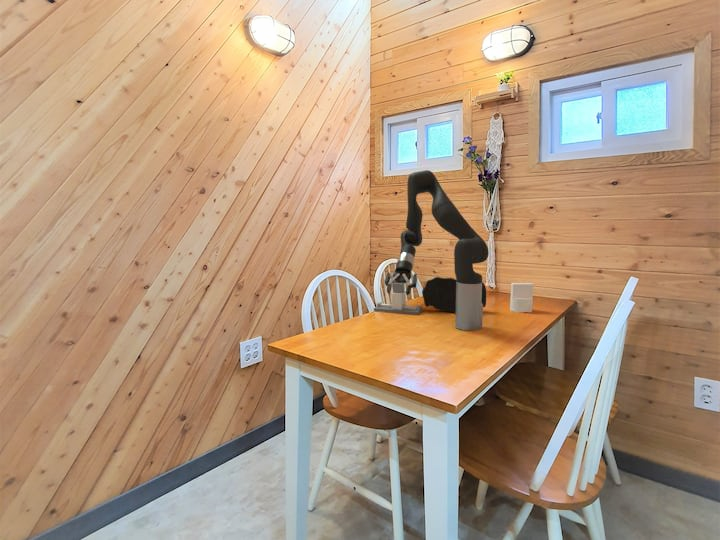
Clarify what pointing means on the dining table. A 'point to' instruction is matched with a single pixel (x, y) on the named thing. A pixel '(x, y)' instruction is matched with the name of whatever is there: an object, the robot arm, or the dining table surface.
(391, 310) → the rail plate
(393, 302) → the din module
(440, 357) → the dining table surface
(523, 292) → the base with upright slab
